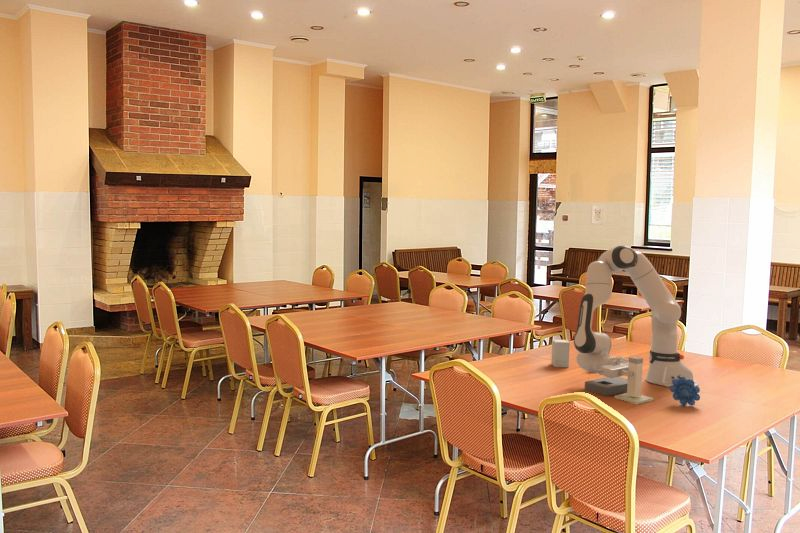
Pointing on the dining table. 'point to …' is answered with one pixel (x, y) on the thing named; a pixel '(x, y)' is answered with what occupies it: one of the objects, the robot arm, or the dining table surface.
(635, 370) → the cream plug
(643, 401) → the sage pad
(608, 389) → the block
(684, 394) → the grapes
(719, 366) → the dining table surface
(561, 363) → the supplement box
